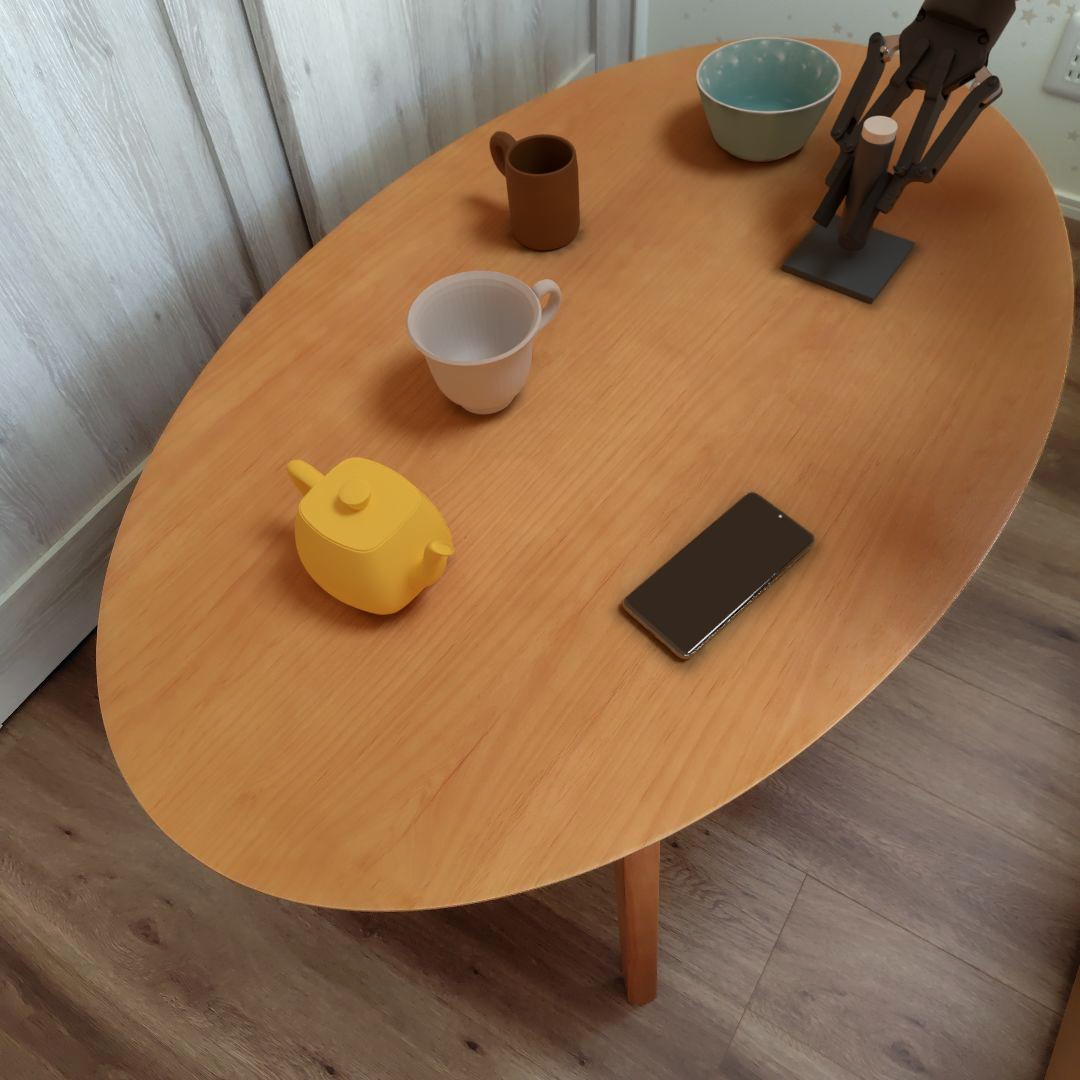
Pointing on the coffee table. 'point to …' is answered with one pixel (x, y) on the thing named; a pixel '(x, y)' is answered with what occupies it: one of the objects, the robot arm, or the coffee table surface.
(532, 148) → the mug
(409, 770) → the coffee table surface
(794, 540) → the smartphone
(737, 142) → the bowl
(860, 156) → the dark grey capped cylinder
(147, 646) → the coffee table surface
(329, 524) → the teapot
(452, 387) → the teacup
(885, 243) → the pad
